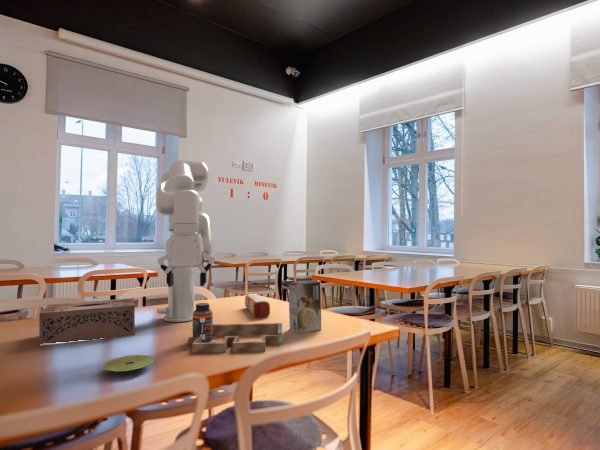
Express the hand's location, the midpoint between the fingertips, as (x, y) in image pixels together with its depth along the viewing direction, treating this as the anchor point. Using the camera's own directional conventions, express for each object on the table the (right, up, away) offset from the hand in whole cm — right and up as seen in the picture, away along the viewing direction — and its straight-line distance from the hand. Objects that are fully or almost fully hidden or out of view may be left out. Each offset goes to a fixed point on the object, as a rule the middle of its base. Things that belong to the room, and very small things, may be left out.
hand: (186, 285), depth 117 cm
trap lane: (+16, -17, -3) cm, 23 cm away
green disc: (-7, -17, -24) cm, 30 cm away
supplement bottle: (+5, -17, 0) cm, 18 cm away
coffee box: (+36, -17, +11) cm, 42 cm away
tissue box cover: (-33, -18, +8) cm, 39 cm away
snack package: (+17, -17, +38) cm, 45 cm away
